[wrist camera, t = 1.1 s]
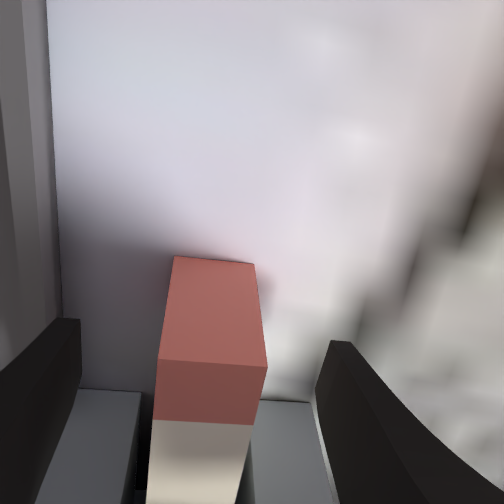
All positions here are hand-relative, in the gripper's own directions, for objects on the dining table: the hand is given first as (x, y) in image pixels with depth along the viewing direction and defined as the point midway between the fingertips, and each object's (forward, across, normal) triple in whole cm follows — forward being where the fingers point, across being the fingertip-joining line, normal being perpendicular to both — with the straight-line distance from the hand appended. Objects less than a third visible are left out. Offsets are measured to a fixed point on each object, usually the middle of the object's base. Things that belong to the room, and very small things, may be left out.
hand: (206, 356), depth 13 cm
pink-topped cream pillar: (+2, 0, +3) cm, 4 cm away
